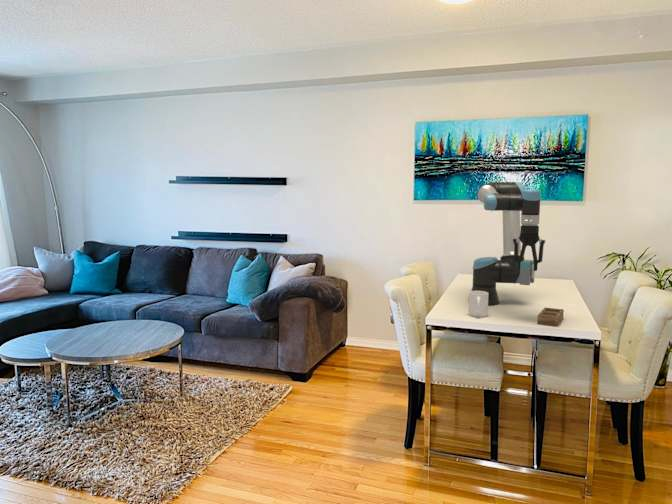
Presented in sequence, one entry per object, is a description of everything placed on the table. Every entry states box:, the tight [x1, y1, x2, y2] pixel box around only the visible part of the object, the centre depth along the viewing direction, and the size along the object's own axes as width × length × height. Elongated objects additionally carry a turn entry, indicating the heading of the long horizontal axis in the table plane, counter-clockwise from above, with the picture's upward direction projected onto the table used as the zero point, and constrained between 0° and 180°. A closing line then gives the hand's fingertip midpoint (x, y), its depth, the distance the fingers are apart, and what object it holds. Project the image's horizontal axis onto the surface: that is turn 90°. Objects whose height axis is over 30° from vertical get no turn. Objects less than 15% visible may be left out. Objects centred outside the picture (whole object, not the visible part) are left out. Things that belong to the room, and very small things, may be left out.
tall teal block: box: [518, 259, 535, 286], centre depth 229 cm, size 10×4×10 cm, turn 147°
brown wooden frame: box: [536, 307, 565, 327], centre depth 229 cm, size 18×8×4 cm, turn 149°
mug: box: [468, 290, 489, 318], centre depth 237 cm, size 9×12×11 cm
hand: (527, 277), depth 230 cm, fingers closed on tall teal block, 4 cm apart
